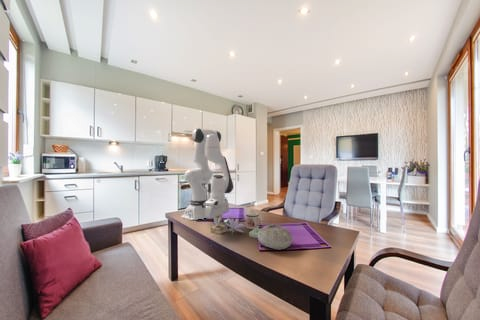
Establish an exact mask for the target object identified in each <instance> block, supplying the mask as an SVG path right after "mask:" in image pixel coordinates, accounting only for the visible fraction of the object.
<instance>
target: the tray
mask: <svg viewBox="0 0 480 320" xmlns="http://www.w3.org/2000/svg"><path fill="white" fill-rule="evenodd" d="M260 229H261V228H260V227H259V228H255V229H251V230H250V231H248V238H249V237H250V238H255V239H258V232H259V231H260Z"/></svg>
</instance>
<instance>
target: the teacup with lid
mask: <svg viewBox="0 0 480 320" xmlns="http://www.w3.org/2000/svg"><path fill="white" fill-rule="evenodd" d="M245 217H246V218H245V222H246V223H245V227H246V228H247V229H248V230H249V229H250V230H253V229H255V228H259V229H260V226H261V225H262V224H263V218H261V217H260V213H259V212H257V211H255V210H254V209H251V210H250V211H248V212H246V213H245Z"/></svg>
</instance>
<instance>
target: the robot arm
mask: <svg viewBox="0 0 480 320" xmlns="http://www.w3.org/2000/svg"><path fill="white" fill-rule="evenodd" d="M191 135H192V140H193V142H194V143H195V145H194V152H193V162H194V163H195V164H196V165H197V168H191V169H188V170H186V171H185V172H184V181H186V183H187V184H188V185H189V186H190V188H191V195H192V196H191V200H190V204H189V205H188V206H187V207H186V208H184V213H183V214H182V215H181V218H182V219H184V220H189V221H199V220H198V219H202V220H205V219H204V218H206V219H208V220H211V219H213V222H214V224H216V223H218V220H217V219H216V218H217V216H219V215H221V216H220V223H221V222H222V218H223V216H224V214H226V213H229V211H230V206H229V202H228V200H229V199H227V198H226V196H225V194H230V193H231V192H232V191H233V190H234V182H233V179H232V176H231V173H230V169H229V163H228V161H227V158H226V156H224V155H223V153H222V151H221V145H220V144H221V143H220V142H221V140H222V134H221V132H220V131H218V130H213V129H210V128H209V129H208V128H207V129H206V128H195V129H193V131H192V134H191ZM208 162H211V163H213V164H215V165H217V166H219V167H220V168H221V169H222V174H214V173H213V171H212V170H211V168H210V167H209V163H208ZM205 182H206V185H205V186H206V187H203V185H202V183H205ZM207 192H208V193H209V194H210V198H209V199H207Z"/></svg>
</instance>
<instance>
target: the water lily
mask: <svg viewBox="0 0 480 320" xmlns="http://www.w3.org/2000/svg"><path fill="white" fill-rule="evenodd" d="M227 219H228V221H229V223H230V225H229V224H228V223H226V224H225V225H226V226H227V225H228V226H229V227H230V228H228V231H229V232H231V235H230V236H232V237H233V234H234V230H235V231H236V232H239V233H243V234H244V233H245V232H244V230H242V228H244V227H246V224H243V222H240V223H239V218H235V220H233V219H234V218H229V217H228V218H227ZM230 219H232V221H231V220H230Z"/></svg>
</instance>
